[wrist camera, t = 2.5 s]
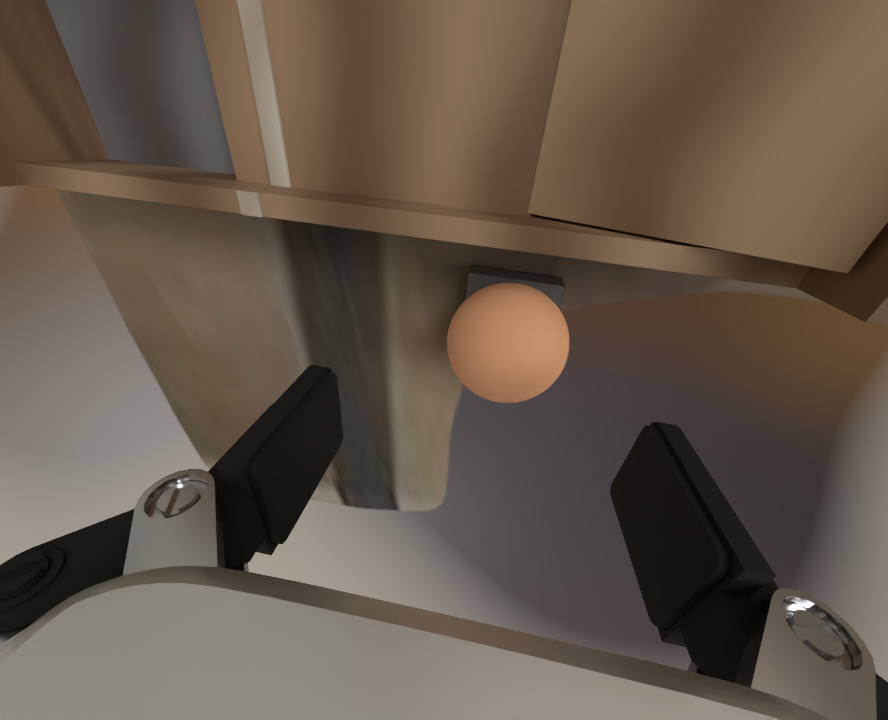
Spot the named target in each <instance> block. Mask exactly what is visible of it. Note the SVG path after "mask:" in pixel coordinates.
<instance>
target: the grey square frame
mask: <svg viewBox="0 0 888 720" xmlns="http://www.w3.org/2000/svg"><path fill="white" fill-rule="evenodd" d="M508 282H511V283H520V284H525V285H528V286H531V287H534V288H536V289H538V290H539V291H541V292H543V293H544V294H545V295H547V296H548V297H549V298H550V299H551V300H552V301H553V302H554V303H555V304H556V305H557V306H558V308H559V306H560V303H561V299H562V296H563V293H564V289H565V284H564V281H563V279H562V278H561V277H554V276H547V275H540V274H533V273H526V272H519V271H511V270H504V269H497V268H490V267H483V266H476V265H472V266H471V269H470V271H469V276H468V284H467V291H466V299H467V298H468V297H469V296H471V295H472V294H473V293H475V292H476V291H478V290H480V289H481V288H484V287H486V286H490V285H493V284H498V283H508ZM466 299H465V300H466Z"/></svg>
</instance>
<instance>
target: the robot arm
mask: <svg viewBox="0 0 888 720" xmlns="http://www.w3.org/2000/svg"><path fill="white" fill-rule="evenodd" d="M342 439H343V429H342V420H341V411H340V401H339V392H338V383H337V375H336V374H335V373H332V370H331V368H329V367H323V366H317V365H310V366H309V367H308V368H307V369H306V370H305V371H304V372H303V373H302V374H301V375H300V376H299V377H298V379H297V380H296V381H295V382H294V383H293V384H292V385H291V386H290V387H289V388H288V389H287V390H286V391H285V392H284V393H283V394H282V396H281V397H280V398H279V399H278V400H277V401H276V402H275V403H273V404H272V405H271V406H270V407H269V408H268V409H267V410H266V411H265V412H264V413H263V414H262V415H261V416H260V417H259V419H258V420H257V421H256V422H255V423H254V424H253V425H252V426H251V427H250V428H249V429H248V430H247V431H246V432H245V433H244V434H243V435H242V436H241V438H240V439H239V440H238V441H237V442H236V443H235V444H234V445H233V446H232V447H231V448H230V449H229V450H228V451H227V452H226V453H225V454H224V455H223V457H222V458H221V459H220V460H219V461H218V462H217V463H216V464H215V465H214V466H213V467H212V468H211V469H210V470H209V471H208V472H207V471H204V470H201V469H188V470H183V471H179V472H176V473H173V474H171V475H168V476H166V477H164V478H162V479H161V480H159V481H157V482H156V483H154V484H153V485H152V486H151V487H149V488H148V489H147V490H146V491H145V492H144V493H143V494H142V496H141V497H140V498H139V500H138V502H137V504H136V507H135V509H133V510H130V511H128V512H125V513H122V514H120V515H117V516H114V517H112V518H109V519H107V520H104V521H101V522H99V523H96V524H93V525H91V526H88V527H85V528H83V529H80V530H78V531H75V532H72V533H70V534H67V535H64V536H62V537H59V538H56V539H54V540H51V541H49V542H46V543H44V544H41V545H38V546H36V547H33V548H31V549H29V550H26V551H24V552H22V553H20V554H18V555H16V556H14V557H13V558H11V559H9V560H8V561H6V562H5V563H3V564H1V565H0V720H888V682H886V681H885V680H884V679H883V678H881V677H880V676H879V675H877V674H876V672H875V666H874V662H873V658H872V656H871V654H870V652H869V650H868V649H867V647H866V645H865V643H864V642H863V641H862V639H861V638H860V637H859V636H858V634H857V633H856V632H855V631H854V629H853V628H852V627H851V626H850V625H849V624H848V623H847V622H846V621H845V620H844V619H843V618H842V617H840V616H839V615H838V614H837V613H836V612H835V611H833V610H832V609H831V608H829V607H828V606H827V605H825V604H824V603H822V602H821V601H819V600H817V599H816V598H814V597H812V596H810V595H809V594H806V593H804V592H801V591H798V590H796V589H790V588H781V589H779V588H778V587H777V585H776V584H775V582H774V580H773V579H774V578H775V577H776V575H775V574H774V572H773V571H772V569H771V568H770V566H769V564H768V563H767V561H766V560H765V558H764V557H763V555H762V554H761V552H760V551H759V549H758V548H757V546H756V544H755V543H754V541H753V540H752V538H751V537H750V535H749V534H748V532H747V531H746V529H745V528H744V526H743V525H742V523H741V521H740V520H739V518H738V517H737V515H736V514H735V512H734V511H733V509H732V508H731V506H730V504H729V503H728V501H727V500H726V498H725V497H724V495H723V494H722V492H721V491H720V489H719V488H718V486H717V485H716V483H715V481H714V480H713V478H712V477H711V475H710V474H709V472H708V471H707V469H706V467H705V466H704V464H703V463H702V461H701V460H700V458H699V457H698V455H697V454H696V452H695V451H694V449H693V447H692V446H691V444H690V443H689V441H688V440H687V438H686V437H685V435H684V434H683V432H682V431H681V429H680V428H679V427H678V426H676V425H672V424H665V423H660V422H653V423H651V424H650V426H645V427H644V428H643V429H642V431H641V433H640V434H639V436H638V438H637V440H636V442H635V443H634V445H633V447H632V449H631V450H630V452H629V454H628V456H627V458H626V459H625V461H624V463H623V465H622V466H621V468H620V470H619V472H618V474H617V475H616V477H615V479H614V481H613V482H612V485H611V491H610V492H611V498H612V501H613V504H614V507H615V510H616V514H617V517H618V520H619V523H620V527H621V530H622V533H623V536H624V539H625V543H626V546H627V549H628V552H629V555H630V558H631V562H632V565H633V568H634V571H635V574H636V577H637V581H638V584H639V587H640V590H641V593H642V597H643V600H644V603H645V606H646V609H647V612H648V616H649V618H650V620H651V622H652V623H653V624H654V625H655V626H657V627H658V630H659V633H660V636H661V639H662V642H666V643H670V644H675V645H679V646H684V647H687V650H688V652H689V655H690V658H691V662H690V664H689V667H688V670H687V671H685V670H681V669H677V668H673V667H669V666H665V665H661V664H657V663H653V662H649V661H645V660H640V659H636V658H632V657H628V656H623V655H619V654H615V653H610V652H606V651H602V650H597V649H593V648H589V647H585V646H580V645H576V644H571V643H567V642H563V641H559V640H554V639H550V638H546V637H542V636H537V635H533V634H528V633H524V632H520V631H515V630H511V629H507V628H502V627H498V626H493V625H489V624H485V623H480V622H476V621H471V620H467V619H463V618H458V617H454V616H449V615H445V614H440V613H436V612H432V611H427V610H423V609H418V608H414V607H410V606H405V605H401V604H396V603H391V602H387V601H383V600H378V599H373V598H369V597H364V596H360V595H356V594H351V593H346V592H342V591H337V590H333V589H328V588H323V587H319V586H315V585H310V584H306V583H301V582H296V581H290V580H286V579H281V578H276V577H271V576H266V575H261V574H256V573H251V572H249V571H248V562H249V561H250V560H251V559H252V557H253V555H254V554H255V552H260V553H264V554H268V555H272V554H273V552H274V550H275V548H276V547H277V545H278V544H283V543H284V542H285V541H286V539H287V538H288V536H289V534H290V533H291V531H292V529H293V528H294V525H295V524H296V522H297V521H298V519H299V517H300V515H301V514H302V512H303V510H304V508H305V507H306V505H307V503H308V501H309V500H310V498H311V496H312V494H313V493H314V491H315V489H316V487H317V486H318V484H319V482H320V480H321V479H322V477H323V475H324V473H325V472H326V470H327V468H328V466H329V465H330V463H331V461H332V459H333V458H334V456H335V454H336V452H337V451H338V449H339V447H340V445H341V443H342Z"/></svg>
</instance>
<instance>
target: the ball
mask: <svg viewBox="0 0 888 720" xmlns="http://www.w3.org/2000/svg"><path fill="white" fill-rule="evenodd" d="M447 351H448V357H449V360H450V364H451V366H452V368H453V370H454V372H455V374H456V375H457V377H458V378H459V380H460V381H461V382H462V383H463V384H464V385H465V386H466V387H467V388H468V389H469V390H471V391H472V392H473V393H475V394H477V395H478V396H480V397H483V398H485V399H487V400H490V401H495V402H501V403H515V402H521V401H525V400H528V399H530V398H533V397H535V396H536V395H539V394H540V393H542V392H543V391H545V390H546V389H547V388H548V387H550V386H551V385H552V384H553V383H554V381H555V380H556V379H557V378H558V376H559V375H560V373H561V372H562V370H563V368H564V365H565V363H566V360H567V357H568V352H569V332H568V327H567V324H566V321H565V319H564V316H563V314H562V313H561V311H560V309H559V308H558V306H557V305H556V304H555V303H554V302H553V301H552V300H551V299H550V298H549V297H548V296H547V295H545V294H544V293H543V292H541V291H539V290H538V289H536V288H534V287H531V286H528V285H525V284H520V283H511V282H508V283H498V284H493V285H490V286H486V287H484V288H482V289H480V290H478V291H476V292H475V293H473V294H472V295H471V296H469V297H468V298H467V299H466V300H465V301H464V302H463V303H462V304H461V305H460V306H459V308H458V309H457V311H456V312H455V314H454V316H453V318H452V320H451V323H450V326H449V330H448V335H447Z"/></svg>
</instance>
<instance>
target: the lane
mask: <svg viewBox="0 0 888 720" xmlns="http://www.w3.org/2000/svg"><path fill="white" fill-rule="evenodd" d="M15 185H31V186H38V187H45V188H52V189H59V190H67V191H74V192H82V193H89V194H97V195H104V196H112V197H119V198H127V199H134V200H142V201H149V202H157V203H164V204H172V205H179V206H186V207H194V208H201V209H209V210H216V211H224V212H231V213H239V214H242V215H247V216H255V217H269V218H276V219H284V220H291V221H299V222H306V223H314V224H321V225H328V226H336V227H343V228H351V229H358V230H366V231H373V232H381V233H388V234H396V235H403V236H411V237H418V238H426V239H433V240H441V241H448V242H456V243H463V244H470V245H478V246H485V247H493V248H500V249H508V250H515V251H523V252H530V253H538V254H545V255H553V256H560V257H568V258H575V259H583V260H590V261H597V262H605V263H612V264H620V265H627V266H635V267H642V268H650V269H657V270H665V271H672V272H680V273H687V274H695V275H702V276H710V277H717V278H725V279H732V280H739V281H747V282H754V283H762V284H769V285H777V286H784V287H792V288H797V289H799V290H801V291H803V292H805V293H807V294H809V295H811V296H814V297H816V298H818V299H820V300H822V301H824V302H826V303H828V304H830V305H832V306H834V307H836V308H838V309H840V310H842V311H844V312H846V313H848V314H850V315H852V316H854V317H856V318H858V319H860V320H862V321H864V322H869V323H875V324H882V325H888V0H0V187H2V186H15Z"/></svg>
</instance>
